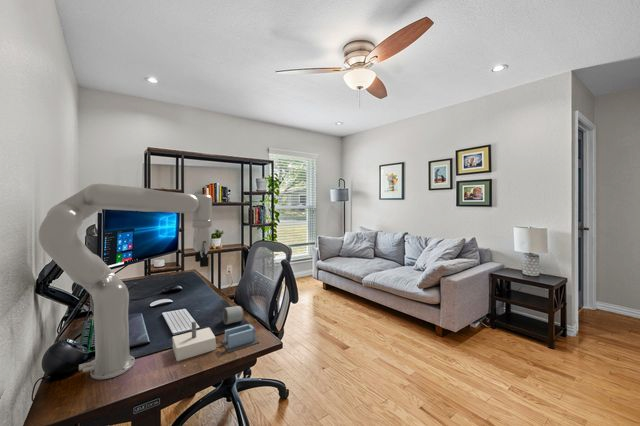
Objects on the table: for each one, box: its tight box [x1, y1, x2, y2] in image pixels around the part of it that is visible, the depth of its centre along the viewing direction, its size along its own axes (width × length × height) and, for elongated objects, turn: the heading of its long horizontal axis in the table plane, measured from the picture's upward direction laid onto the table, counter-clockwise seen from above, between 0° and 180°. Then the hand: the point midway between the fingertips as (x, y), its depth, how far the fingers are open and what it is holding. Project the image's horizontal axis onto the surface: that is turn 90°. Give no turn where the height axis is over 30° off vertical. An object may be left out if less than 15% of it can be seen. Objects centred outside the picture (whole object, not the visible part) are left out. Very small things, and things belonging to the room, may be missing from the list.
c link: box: [224, 323, 256, 348], centre depth 117 cm, size 11×6×5 cm, turn 126°
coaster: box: [220, 336, 260, 353], centre depth 117 cm, size 13×10×1 cm
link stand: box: [172, 321, 217, 362], centre depth 111 cm, size 14×10×11 cm
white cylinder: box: [222, 305, 244, 326], centre depth 136 cm, size 11×8×8 cm
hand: (201, 263), depth 118 cm, fingers open, 9 cm apart
